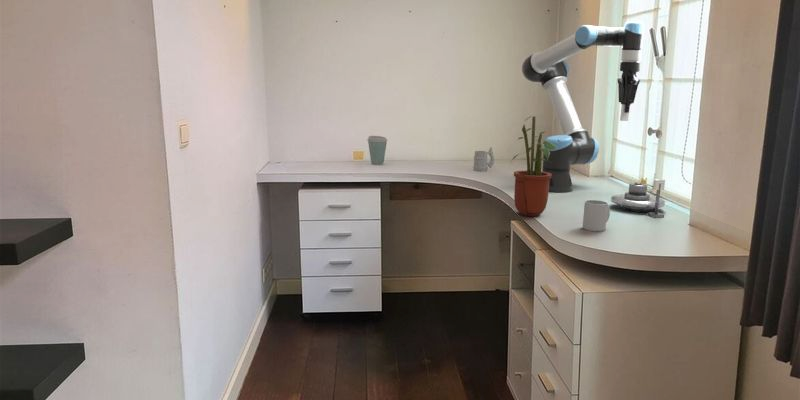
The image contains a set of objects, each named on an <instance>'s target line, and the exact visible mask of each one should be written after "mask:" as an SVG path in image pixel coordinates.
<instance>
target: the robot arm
mask: <svg viewBox="0 0 800 400" xmlns="http://www.w3.org/2000/svg"><path fill="white" fill-rule="evenodd" d="M644 35H645V23H644V22H643V21H637V20H636V21H635V20H631V21H626V22H625V23H624V26H623V27H611V26H610V27H609V26H597V25H591V24H586V25H585V24H584V25H581V26H579V27H578V28H577V30H576V31H575V33H574V34H572V35H571V36H569V37H566V38H564V39H563V40H560V41H559V42H557V43H555V44H554V45H552V46H550V47H548V48H547V49H545V50H543V51H541V52H534V53H532V54H531V55H529V56H528V57H526V58H525V59H524V61H523V62H522V66H521V72H522V74H523V76H524V78H525V79H526V80H528V81H530V82H533V83H540V84H541V87H542V89H543V91H546V92H547V93H548V96H549V98H550V101H551V103H552V107H553V109H554V112H555V114H556V117H557V120H558V123H559V125H560V128H561V132H562V133H563V134H560V135H559V134H558V135H551V136H547V138H545V139H544V141H547V142H551V143H552V144H553V145H554V146H555V147H556V148H558V149H556V150H548V151H549V152H550V154H549V157H548V160H547V157H546V155H545V154H544V153H543V152H542V153H543V154H542V155H543V157H542V159H545V160H542V168H541V172H547V173H550V174H552V176H551V179H549V192H551V193H553V192H554V193H569V192H572V191H573V183H572V176H571V173H570V171H571V170H570V169H571V165H574V166H575V165H587V164H591V163H593V162H594V161H595V160H596V159H597V158H598V155H599V153H600V146H599V142H598V141H597V139H596V138H594V137H591V136H590V134H589V131H588V130H587V129H585V128H584V127H583V125H582V124H581V121H580V118H579V115H578V112H577V110H576V107H575V105H574V103H573V102H574V101H573V99H572V97H571V94H570V92H569V89H568V87H567V82H568V77H569V71H570V68H569V65H568V63H567V62H566V60H567V59H569V58H570V57H573V56H574V55H576V54H578V53H580V52H582V51H584V50H586V49H589V48H590V47H593V46H596V47H597V46H599V47H600V46H601V47H604V48H605V47H606V48H611V47H613V48H614V47H621V54H620V65H619V66H620V67H619V71H620V72H622V73H621V78H617V84H618V89H617V90H618V103H620V104H621V107H620V109H621V110H620V116H619V117H620V118H619V121H621V122H629V114H630V108H631V107H630V106H631V105H632V104H634V103H635V99H636V95H637V90H638V87H639V85H640V82H641V80H640V79H638V78H637V75H638V74H637V73H638V72H640V69H641V63H640V61H641V59H642V51H643V45H644V44H643V42H644ZM543 148H546V147H545V146H544V145H543Z"/></svg>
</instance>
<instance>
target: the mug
mask: <svg viewBox="0 0 800 400" xmlns="http://www.w3.org/2000/svg"><path fill="white" fill-rule="evenodd" d="M493 152H494V151H493V147H490V148H489V149H488V151H486V150H476V151H474V156H473V166H472V169H473V170H472V171H474V172H487V171H488V167H489V168H490V169H491V168H493V166H494V162H495V157H494V153H493ZM488 155H489V157H490V160H489V161H488V159H489V158H488Z"/></svg>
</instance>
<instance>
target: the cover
mask: <svg viewBox="0 0 800 400" xmlns="http://www.w3.org/2000/svg"><path fill="white" fill-rule="evenodd" d="M624 194H625V195H624V198H625V199H627V200H632V201H649V200H650V196H651V195H650V194H649V193H648V185H647V184H646V185H645V184H642V183H641V182H633V183H629V185H628V192H624Z"/></svg>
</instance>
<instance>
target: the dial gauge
mask: <svg viewBox="0 0 800 400" xmlns="http://www.w3.org/2000/svg"><path fill="white" fill-rule="evenodd" d="M665 183H666V180H665V179H658V178H657V179H653V182H652V185H651V187H652V190H653V191H656V193H655V194H656V195H655V197H656V202H655V208H654V212H653V211H650V212H647V216H649V217H651V218H655V219H656V218H665V214H664V213H661V212H659V208H658V207H659V198H660V196H661V191H665ZM660 199H661V198H660Z"/></svg>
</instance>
